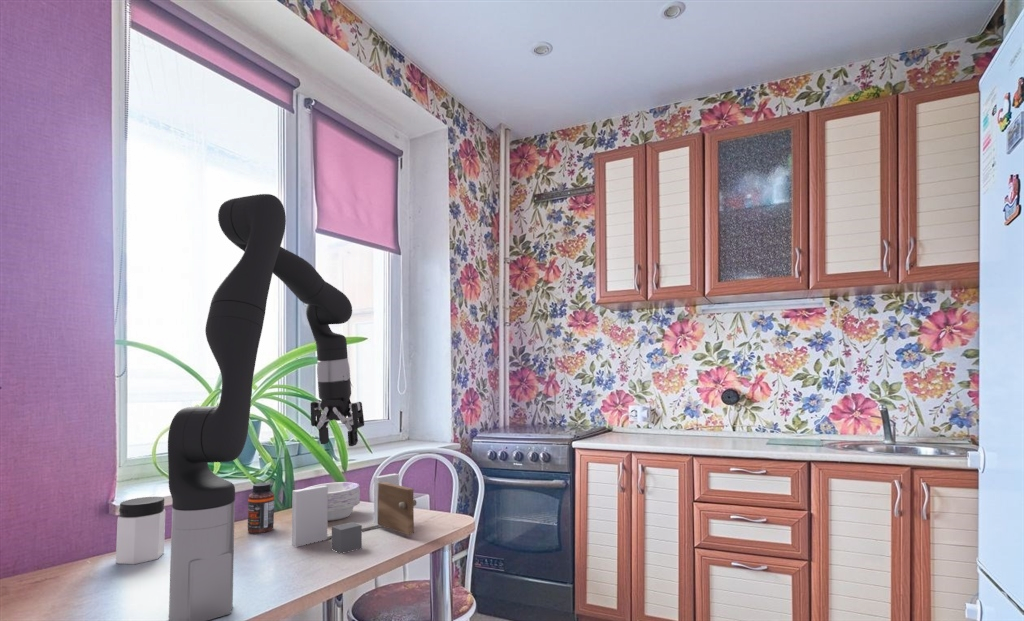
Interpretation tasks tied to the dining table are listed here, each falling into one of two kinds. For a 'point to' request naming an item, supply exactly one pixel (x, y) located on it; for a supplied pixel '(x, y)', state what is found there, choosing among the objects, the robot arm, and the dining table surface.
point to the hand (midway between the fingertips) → (338, 444)
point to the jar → (140, 530)
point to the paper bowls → (341, 499)
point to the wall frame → (322, 512)
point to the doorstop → (346, 537)
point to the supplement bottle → (261, 509)
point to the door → (396, 507)
